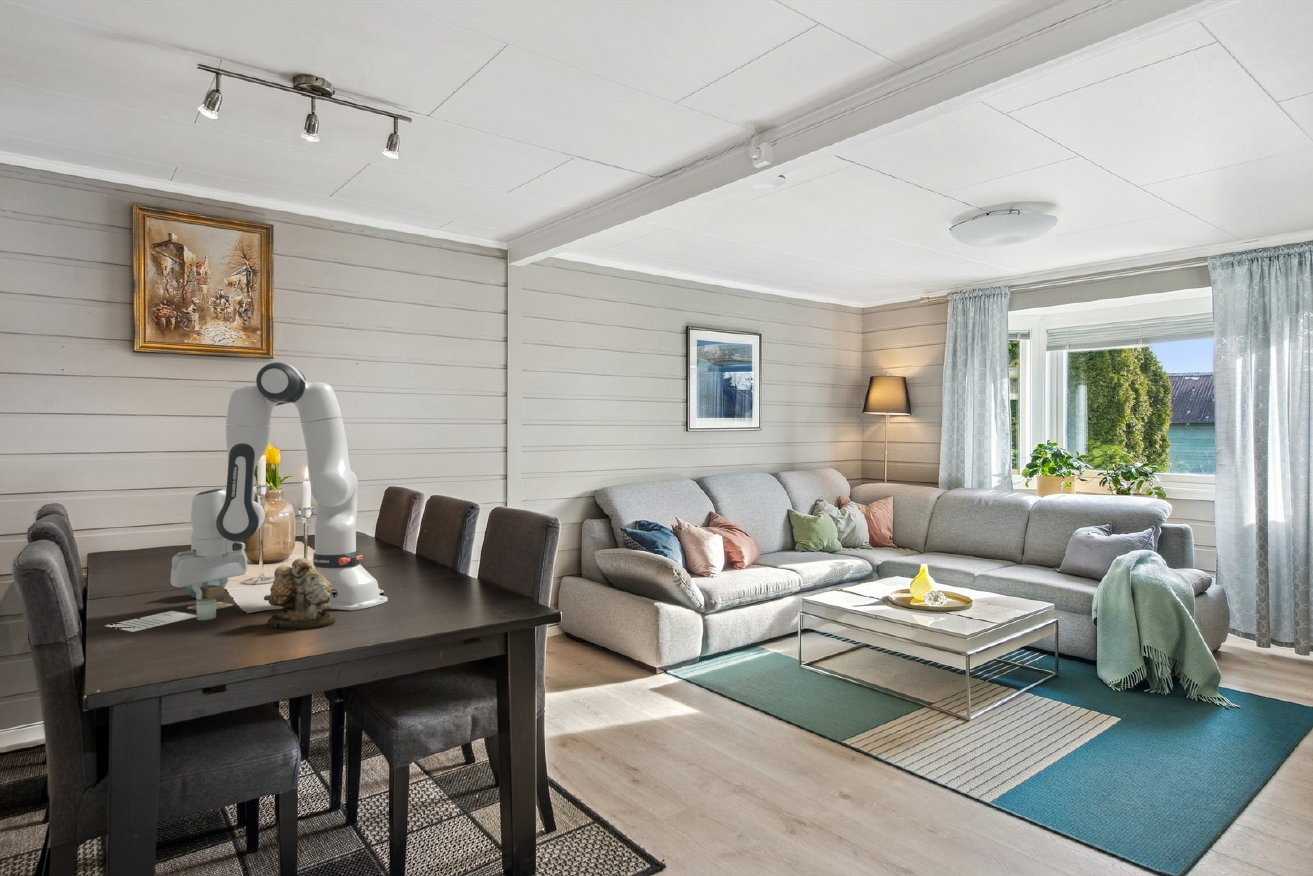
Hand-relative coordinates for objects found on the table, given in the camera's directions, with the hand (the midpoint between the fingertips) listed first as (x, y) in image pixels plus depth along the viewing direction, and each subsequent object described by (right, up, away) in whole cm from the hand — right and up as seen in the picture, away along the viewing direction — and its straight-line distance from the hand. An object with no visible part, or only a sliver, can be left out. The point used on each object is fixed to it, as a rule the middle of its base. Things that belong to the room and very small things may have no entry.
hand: (210, 596), depth 212 cm
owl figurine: (+32, -4, -16) cm, 36 cm away
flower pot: (-9, -3, +13) cm, 16 cm away
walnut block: (0, -1, 0) cm, 1 cm away
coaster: (0, -3, 0) cm, 3 cm away
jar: (+6, -3, -12) cm, 14 cm away
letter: (-6, -3, -15) cm, 16 cm away
